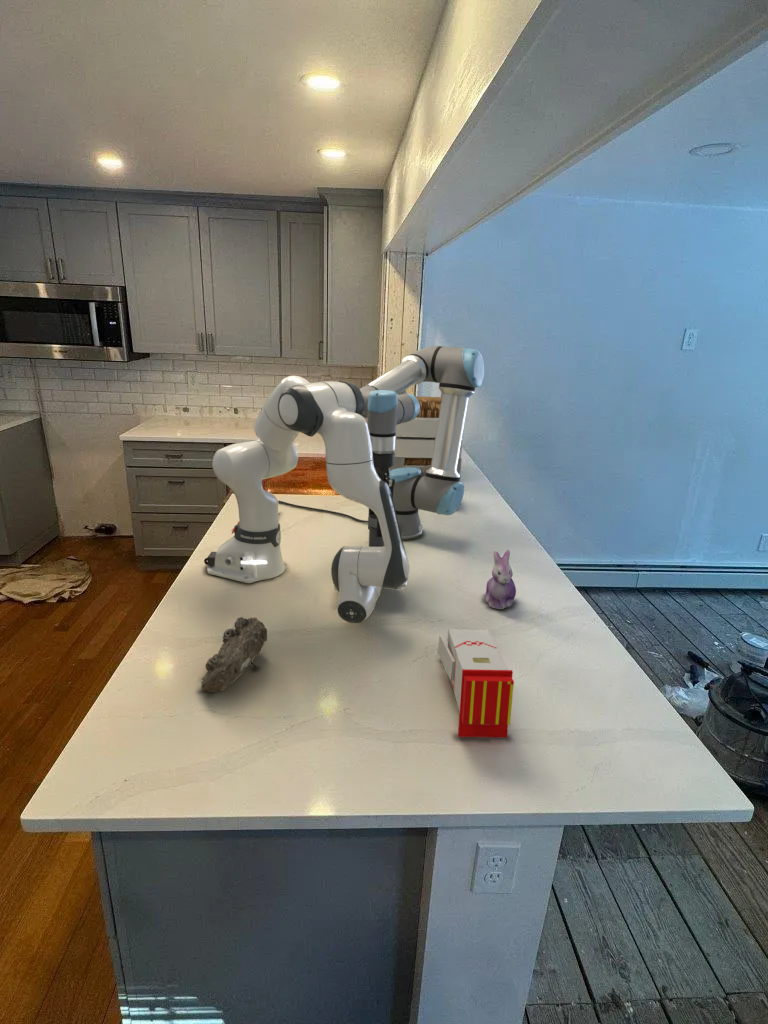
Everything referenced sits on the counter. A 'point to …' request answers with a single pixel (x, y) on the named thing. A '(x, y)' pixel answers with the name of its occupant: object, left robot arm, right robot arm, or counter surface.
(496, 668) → the toy
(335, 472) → the left robot arm
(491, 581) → the figurine
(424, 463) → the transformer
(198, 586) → the counter surface
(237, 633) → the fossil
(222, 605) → the counter surface
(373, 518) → the lid
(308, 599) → the counter surface
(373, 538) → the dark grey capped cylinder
